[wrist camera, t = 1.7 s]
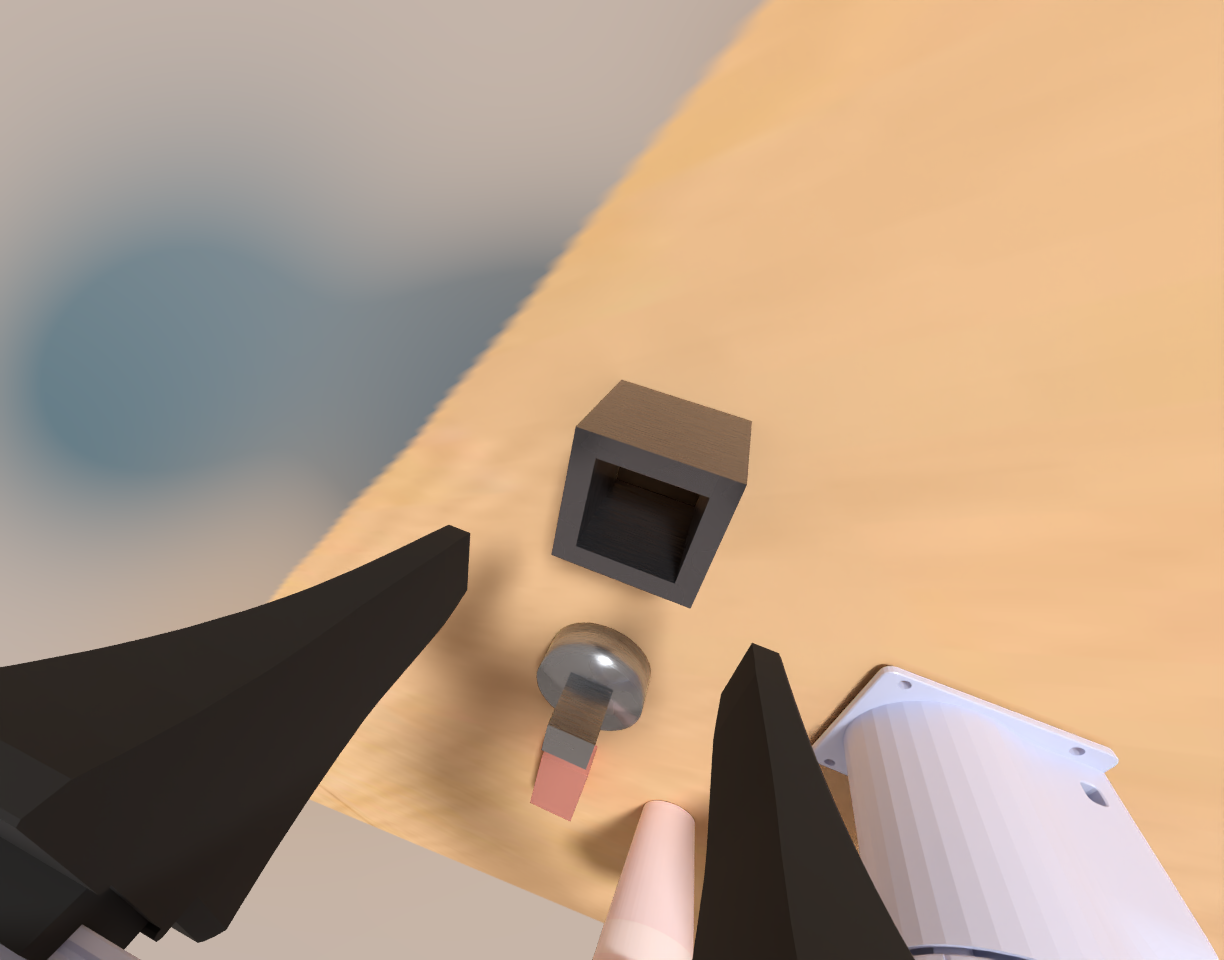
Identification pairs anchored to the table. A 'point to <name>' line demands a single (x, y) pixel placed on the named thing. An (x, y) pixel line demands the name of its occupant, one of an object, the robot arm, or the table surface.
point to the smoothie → (654, 891)
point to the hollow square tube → (640, 519)
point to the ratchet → (584, 706)
